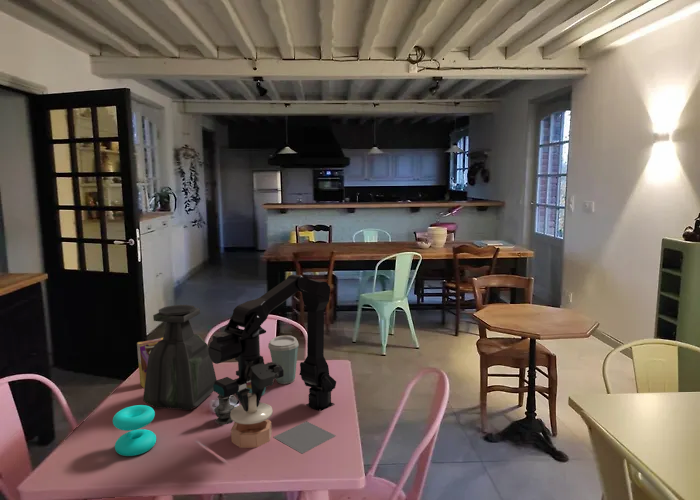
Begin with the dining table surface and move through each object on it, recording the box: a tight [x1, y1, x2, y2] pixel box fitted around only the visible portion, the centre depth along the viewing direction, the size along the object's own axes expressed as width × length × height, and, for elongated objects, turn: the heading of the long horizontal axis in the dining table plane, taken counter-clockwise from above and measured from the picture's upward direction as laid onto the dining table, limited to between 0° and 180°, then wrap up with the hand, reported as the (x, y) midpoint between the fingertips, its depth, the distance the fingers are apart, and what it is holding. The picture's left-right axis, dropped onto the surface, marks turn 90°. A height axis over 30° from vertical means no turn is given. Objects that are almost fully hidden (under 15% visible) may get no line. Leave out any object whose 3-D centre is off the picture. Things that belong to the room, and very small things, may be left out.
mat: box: [273, 421, 337, 454], centre depth 129 cm, size 12×12×1 cm
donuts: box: [112, 404, 157, 457], centre depth 125 cm, size 10×10×10 cm
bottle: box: [142, 304, 218, 411], centre depth 151 cm, size 18×16×30 cm
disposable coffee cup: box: [268, 335, 300, 385], centre depth 167 cm, size 11×11×15 cm
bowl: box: [230, 418, 273, 449], centre depth 128 cm, size 10×10×4 cm
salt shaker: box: [213, 394, 236, 426], centre depth 139 cm, size 6×6×12 cm
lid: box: [230, 393, 273, 424], centre depth 127 cm, size 11×11×5 cm
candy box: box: [136, 337, 163, 389], centre depth 166 cm, size 9×4×15 cm, turn 127°
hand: (251, 409), depth 128 cm, fingers closed on lid, 3 cm apart
